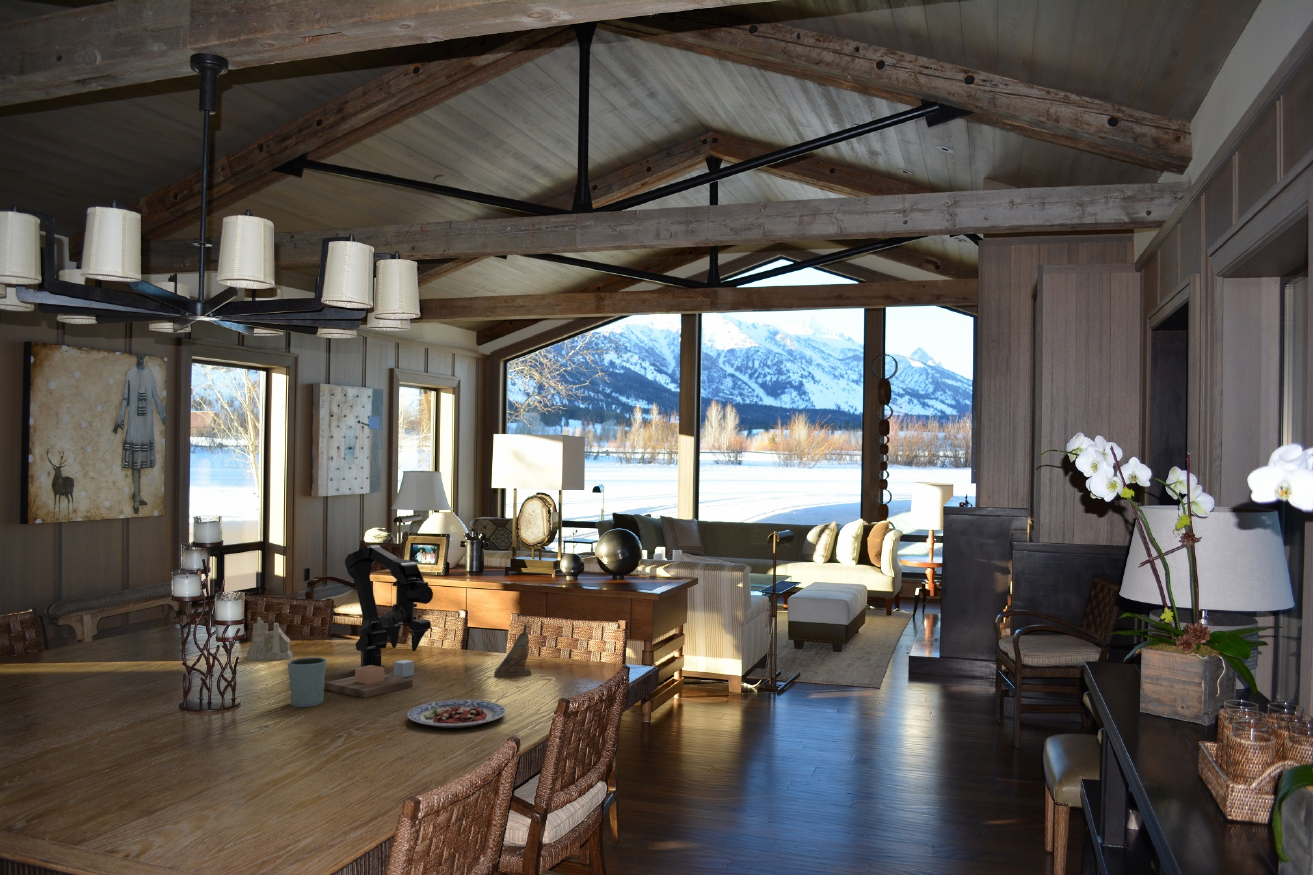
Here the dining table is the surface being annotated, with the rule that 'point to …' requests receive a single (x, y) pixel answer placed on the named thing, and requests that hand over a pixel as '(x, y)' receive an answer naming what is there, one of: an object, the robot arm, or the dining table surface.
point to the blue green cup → (307, 681)
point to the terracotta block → (369, 674)
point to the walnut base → (368, 686)
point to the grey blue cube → (403, 668)
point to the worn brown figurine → (515, 659)
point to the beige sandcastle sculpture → (268, 643)
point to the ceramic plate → (456, 713)
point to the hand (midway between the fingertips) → (403, 649)
